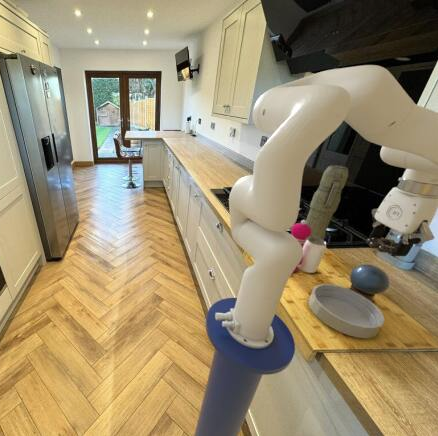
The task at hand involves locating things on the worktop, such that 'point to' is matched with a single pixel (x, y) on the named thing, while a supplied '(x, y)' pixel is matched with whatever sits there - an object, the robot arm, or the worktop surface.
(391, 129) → the robot arm
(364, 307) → the bowl
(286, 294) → the worktop surface
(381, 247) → the chocolate capsule cluster
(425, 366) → the worktop surface
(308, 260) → the can
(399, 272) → the worktop surface
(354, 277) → the ball stand
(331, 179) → the moai statue figurine
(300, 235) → the pepper mill
